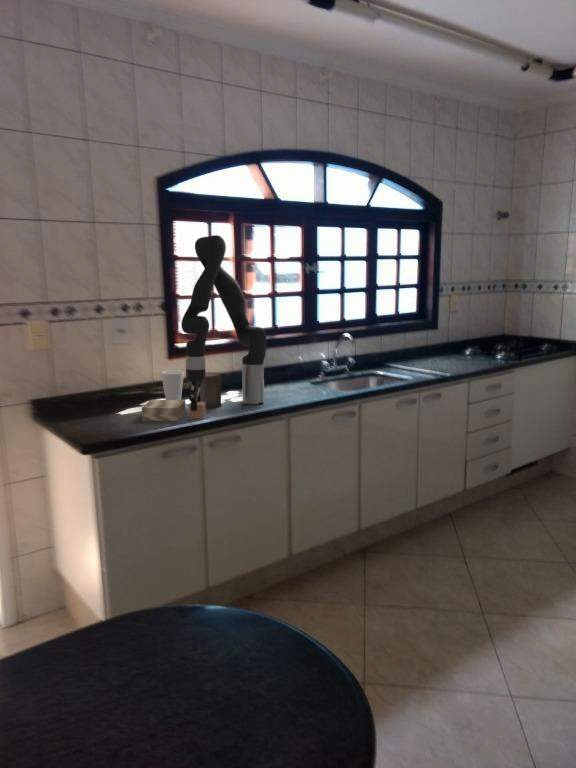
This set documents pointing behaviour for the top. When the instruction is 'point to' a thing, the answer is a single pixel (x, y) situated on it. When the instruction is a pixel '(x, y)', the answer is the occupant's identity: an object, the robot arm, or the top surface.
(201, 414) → the terracotta cube
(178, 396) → the foam cup
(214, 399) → the pillar candle
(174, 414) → the birch plinth
